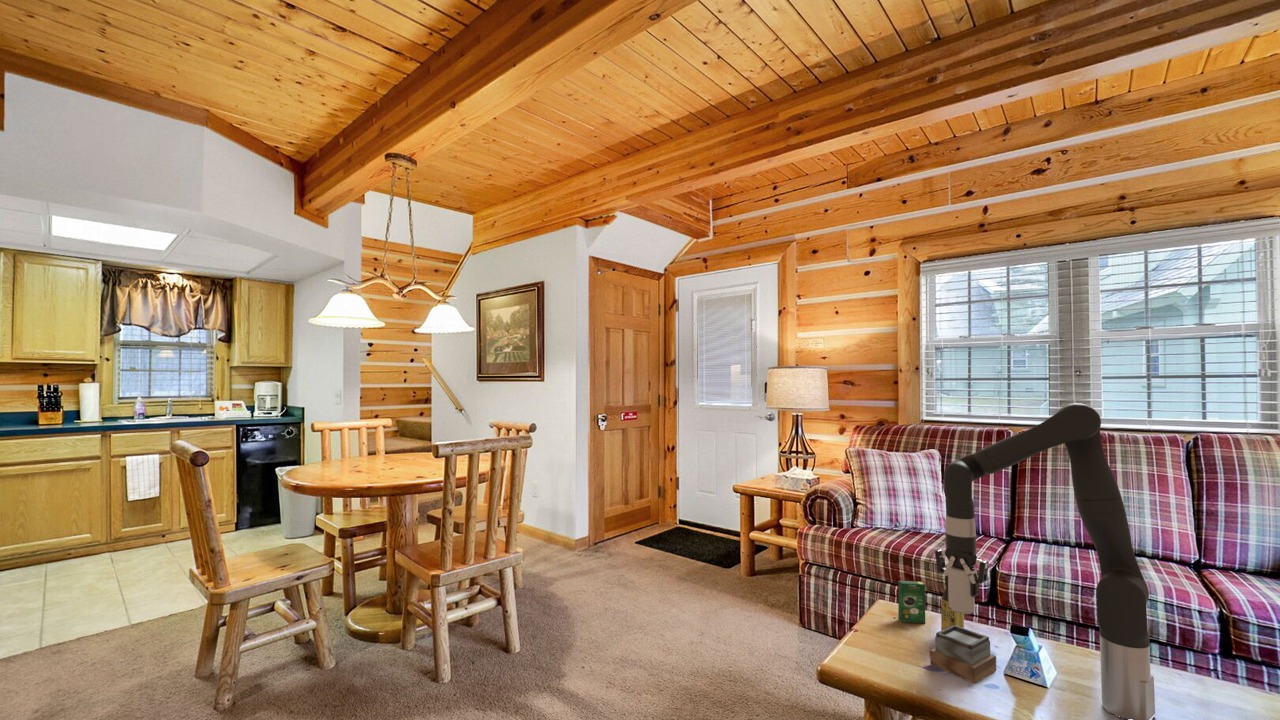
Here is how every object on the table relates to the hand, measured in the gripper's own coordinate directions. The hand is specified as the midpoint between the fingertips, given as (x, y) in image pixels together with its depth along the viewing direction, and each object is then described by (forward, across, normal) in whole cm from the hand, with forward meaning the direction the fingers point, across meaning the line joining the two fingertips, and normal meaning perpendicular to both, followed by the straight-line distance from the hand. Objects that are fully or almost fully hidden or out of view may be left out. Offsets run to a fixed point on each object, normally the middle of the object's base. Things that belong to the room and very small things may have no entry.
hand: (961, 592), depth 159 cm
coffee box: (+21, +25, -17) cm, 37 cm away
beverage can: (+5, 0, 0) cm, 5 cm away
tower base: (+21, 0, 0) cm, 21 cm away
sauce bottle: (+21, +11, -16) cm, 29 cm away
